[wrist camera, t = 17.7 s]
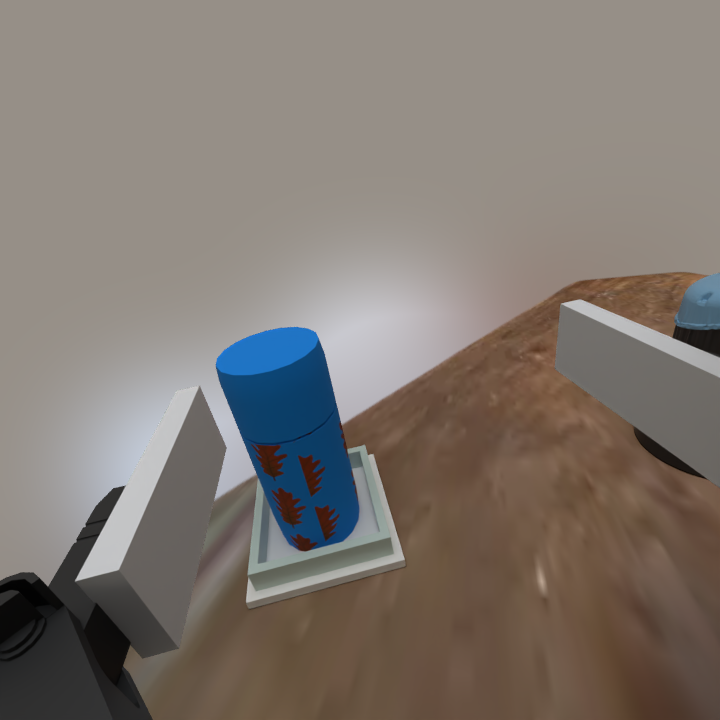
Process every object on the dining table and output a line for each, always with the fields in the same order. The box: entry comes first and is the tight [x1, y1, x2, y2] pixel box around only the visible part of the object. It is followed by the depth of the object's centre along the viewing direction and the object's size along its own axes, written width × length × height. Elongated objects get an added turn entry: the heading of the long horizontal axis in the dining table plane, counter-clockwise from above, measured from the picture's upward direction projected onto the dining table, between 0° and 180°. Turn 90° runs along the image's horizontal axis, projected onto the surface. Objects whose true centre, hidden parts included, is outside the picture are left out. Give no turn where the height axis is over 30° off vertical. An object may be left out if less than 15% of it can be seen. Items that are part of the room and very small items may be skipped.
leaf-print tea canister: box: [216, 327, 360, 552], centre depth 43 cm, size 11×11×25 cm
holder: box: [246, 445, 406, 609], centre depth 48 cm, size 18×18×4 cm
